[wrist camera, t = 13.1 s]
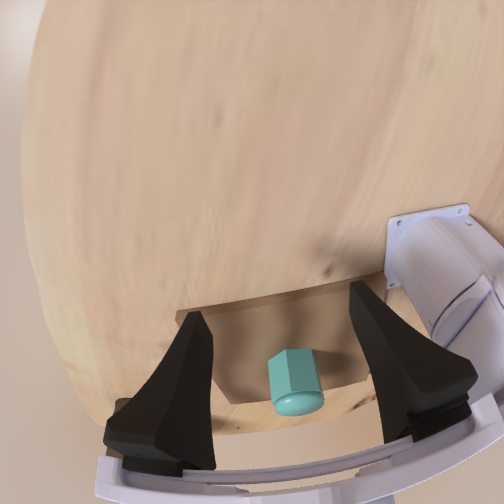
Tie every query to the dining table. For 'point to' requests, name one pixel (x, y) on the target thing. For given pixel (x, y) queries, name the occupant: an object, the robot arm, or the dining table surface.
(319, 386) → the cap
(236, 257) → the dining table surface
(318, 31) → the dining table surface
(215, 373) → the brown flat square slab
